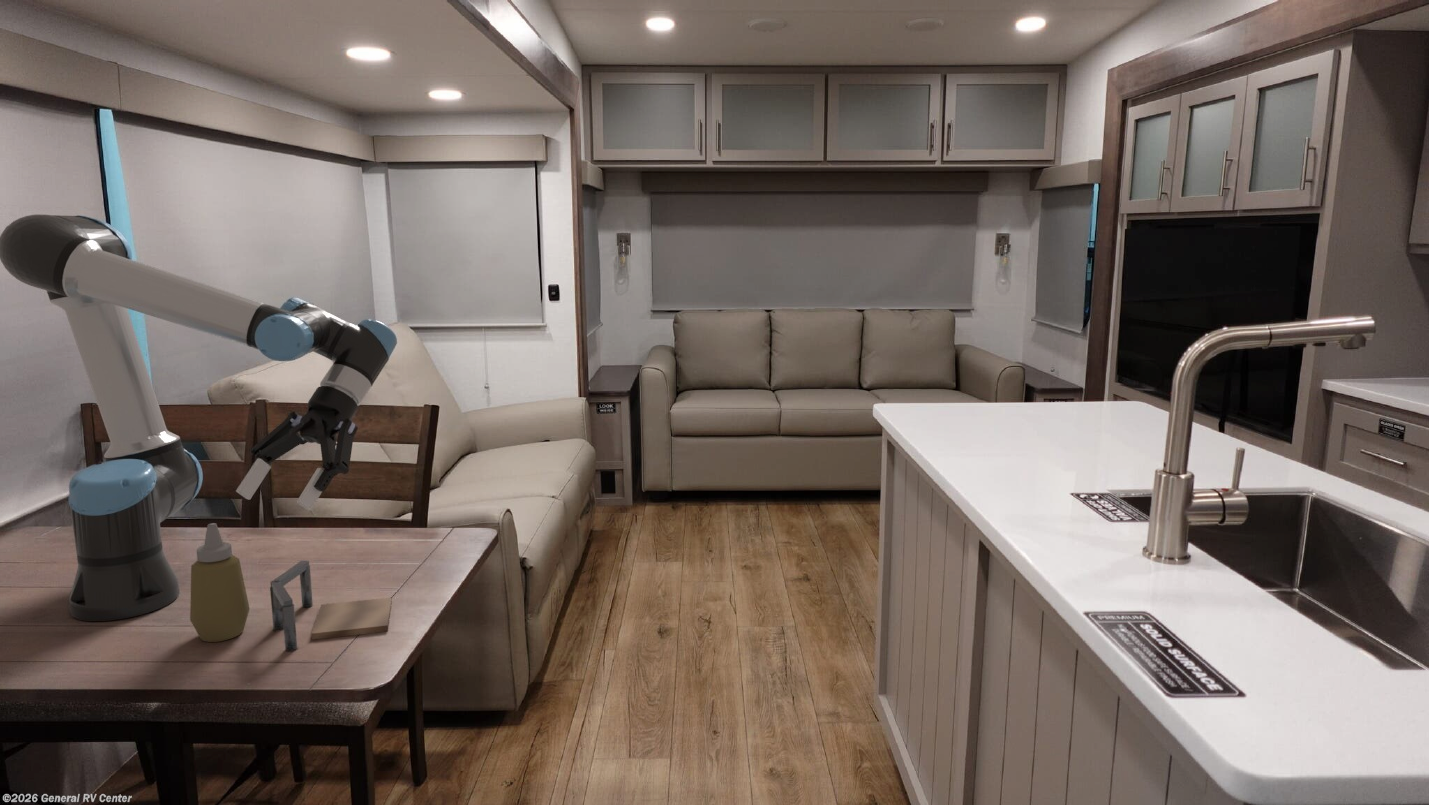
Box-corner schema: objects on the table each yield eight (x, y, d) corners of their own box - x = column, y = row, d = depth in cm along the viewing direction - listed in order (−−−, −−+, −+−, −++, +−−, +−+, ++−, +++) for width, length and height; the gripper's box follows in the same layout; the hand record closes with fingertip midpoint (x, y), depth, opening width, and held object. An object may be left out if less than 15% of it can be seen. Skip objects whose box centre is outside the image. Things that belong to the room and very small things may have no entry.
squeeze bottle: (263, 629, 133) (254, 521, 129) (214, 651, 125) (203, 536, 122) (229, 619, 136) (219, 513, 133) (179, 639, 129) (168, 528, 125)
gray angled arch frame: (262, 654, 125) (258, 605, 123) (283, 606, 141) (279, 561, 140) (296, 650, 126) (292, 601, 125) (313, 603, 142) (310, 559, 141)
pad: (311, 639, 130) (311, 633, 129) (321, 610, 140) (321, 604, 140) (387, 631, 133) (387, 625, 133) (391, 603, 143) (391, 597, 143)
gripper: (406, 415, 146) (344, 522, 135) (300, 402, 155) (234, 502, 144) (382, 389, 140) (315, 499, 129) (273, 378, 150) (202, 480, 139)
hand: (272, 501), depth 137 cm, fingers open, 13 cm apart
